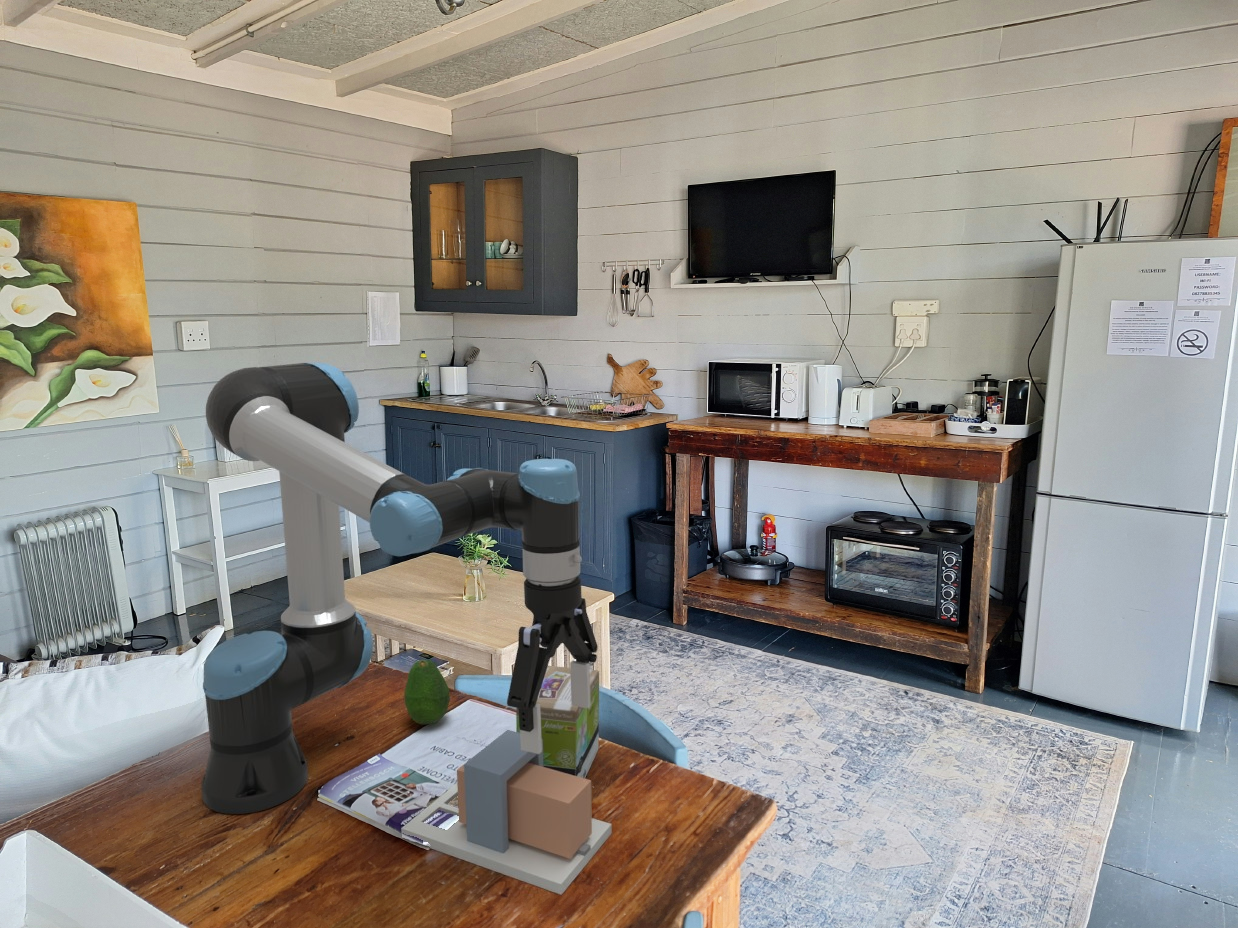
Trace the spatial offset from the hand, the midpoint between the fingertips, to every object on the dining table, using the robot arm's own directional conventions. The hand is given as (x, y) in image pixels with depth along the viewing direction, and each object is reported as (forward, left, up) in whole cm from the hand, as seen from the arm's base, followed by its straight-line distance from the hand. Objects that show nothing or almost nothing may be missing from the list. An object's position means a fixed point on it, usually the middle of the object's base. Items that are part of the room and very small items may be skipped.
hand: (557, 727), depth 114 cm
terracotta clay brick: (-4, -2, -15) cm, 16 cm away
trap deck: (-7, -2, -17) cm, 19 cm away
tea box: (-9, +16, -18) cm, 25 cm away
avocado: (-38, +19, -17) cm, 46 cm away
